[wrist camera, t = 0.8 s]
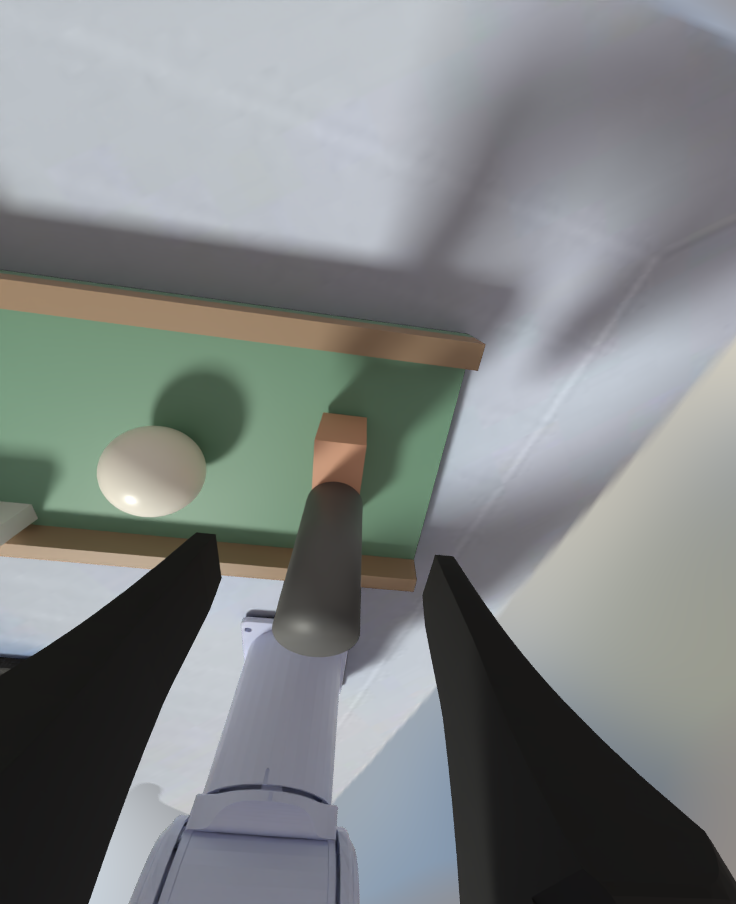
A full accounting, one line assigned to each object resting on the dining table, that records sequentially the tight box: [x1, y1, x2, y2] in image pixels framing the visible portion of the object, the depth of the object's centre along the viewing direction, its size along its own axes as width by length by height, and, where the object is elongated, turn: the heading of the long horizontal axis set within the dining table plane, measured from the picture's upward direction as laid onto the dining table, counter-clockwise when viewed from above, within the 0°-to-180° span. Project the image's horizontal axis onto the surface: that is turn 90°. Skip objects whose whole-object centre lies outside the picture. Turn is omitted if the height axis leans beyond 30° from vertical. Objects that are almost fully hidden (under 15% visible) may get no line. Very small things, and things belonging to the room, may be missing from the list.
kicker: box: [272, 412, 367, 657], centre depth 13 cm, size 6×2×8 cm, turn 173°
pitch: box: [0, 270, 486, 592], centre depth 16 cm, size 14×28×2 cm, turn 83°
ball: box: [97, 426, 206, 517], centre depth 14 cm, size 4×4×4 cm
